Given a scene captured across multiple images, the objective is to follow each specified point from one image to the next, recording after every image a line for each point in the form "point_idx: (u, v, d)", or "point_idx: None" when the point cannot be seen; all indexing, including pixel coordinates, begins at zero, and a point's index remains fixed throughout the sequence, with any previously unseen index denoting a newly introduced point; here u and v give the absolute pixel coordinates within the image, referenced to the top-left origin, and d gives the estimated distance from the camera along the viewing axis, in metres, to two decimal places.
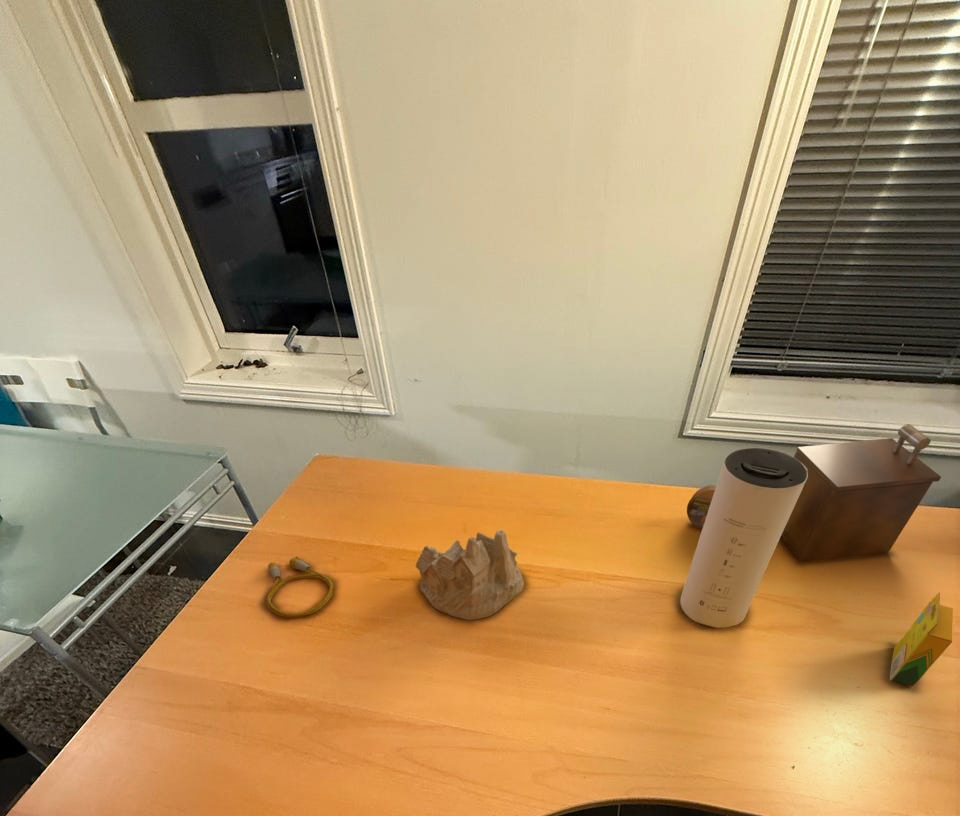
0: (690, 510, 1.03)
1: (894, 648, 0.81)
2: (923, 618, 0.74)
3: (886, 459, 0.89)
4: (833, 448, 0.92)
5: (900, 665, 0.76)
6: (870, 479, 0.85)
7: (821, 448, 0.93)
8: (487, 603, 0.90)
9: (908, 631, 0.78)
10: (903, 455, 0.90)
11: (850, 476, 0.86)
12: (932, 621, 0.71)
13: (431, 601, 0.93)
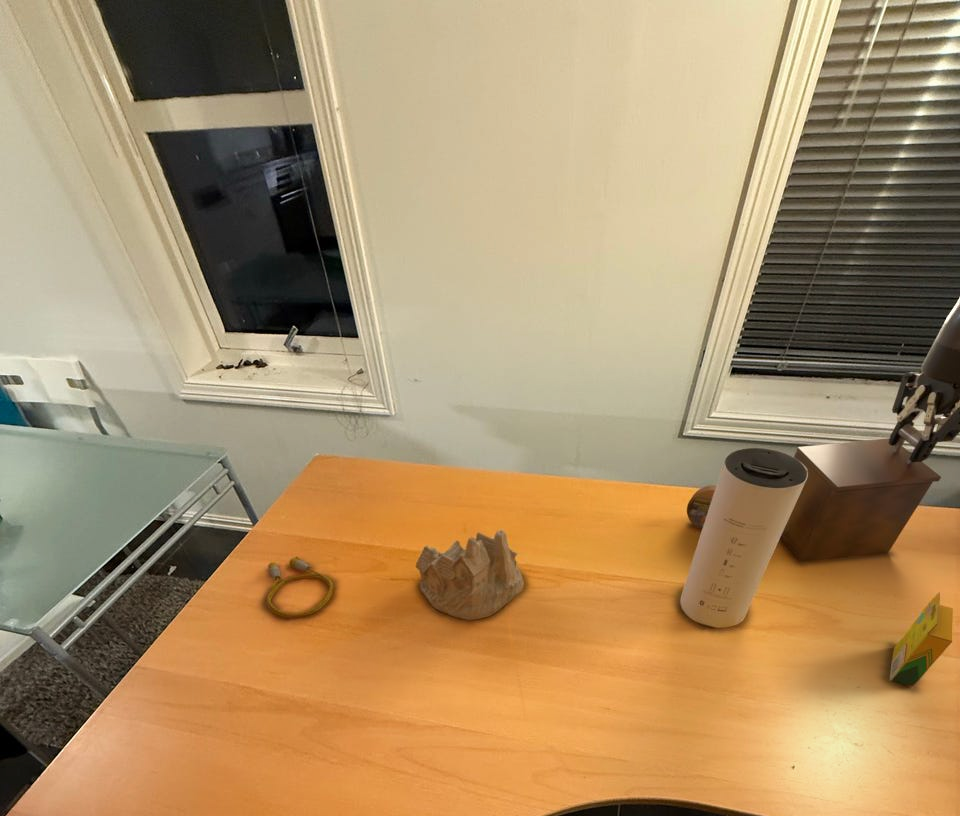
0: (690, 510, 1.03)
1: (894, 648, 0.81)
2: (923, 618, 0.74)
3: (886, 459, 0.89)
4: (833, 448, 0.92)
5: (900, 665, 0.76)
6: (870, 479, 0.85)
7: (821, 448, 0.93)
8: (487, 603, 0.90)
9: (908, 631, 0.78)
10: (903, 455, 0.90)
11: (850, 476, 0.86)
12: (932, 621, 0.71)
13: (431, 601, 0.93)
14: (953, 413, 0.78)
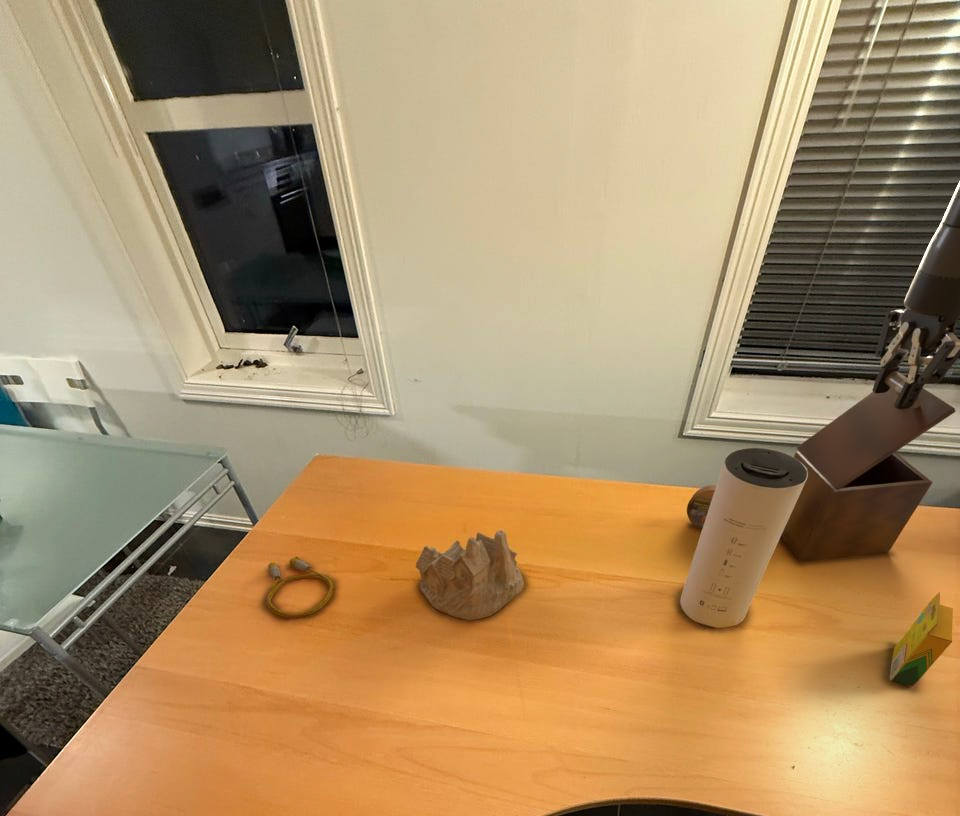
0: (690, 510, 1.03)
1: (894, 648, 0.81)
2: (923, 618, 0.74)
3: (890, 413, 0.83)
4: (832, 429, 0.90)
5: (900, 665, 0.76)
6: (870, 458, 0.82)
7: (819, 435, 0.91)
8: (487, 603, 0.90)
9: (908, 631, 0.78)
10: None
11: (849, 464, 0.85)
12: (932, 621, 0.71)
13: (431, 601, 0.93)
14: (939, 349, 0.71)
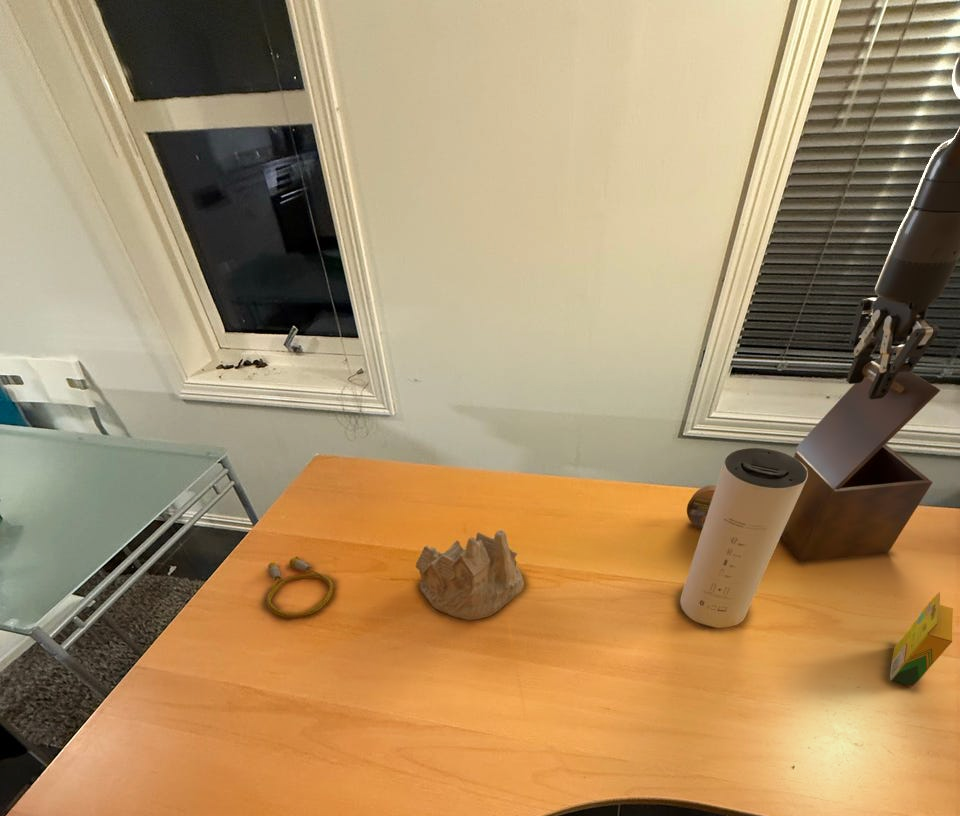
0: (690, 510, 1.03)
1: (894, 648, 0.81)
2: (923, 618, 0.74)
3: (877, 401, 0.82)
4: (826, 424, 0.89)
5: (900, 665, 0.76)
6: (863, 452, 0.82)
7: (815, 432, 0.90)
8: (487, 603, 0.90)
9: (908, 631, 0.78)
10: (895, 378, 0.80)
11: (845, 461, 0.84)
12: (932, 621, 0.71)
13: (431, 601, 0.93)
14: (910, 337, 0.70)
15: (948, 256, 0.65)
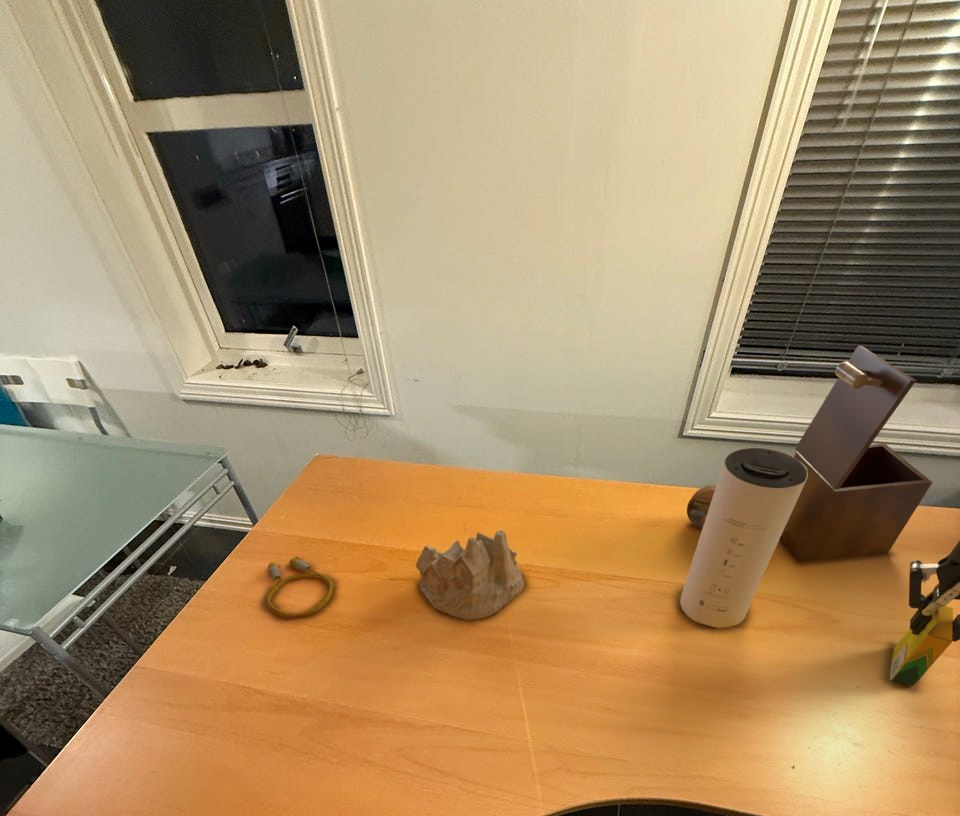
0: (690, 510, 1.03)
1: (894, 648, 0.81)
2: None
3: (860, 396, 0.81)
4: (818, 423, 0.88)
5: (900, 665, 0.76)
6: (854, 450, 0.81)
7: (810, 432, 0.90)
8: (487, 603, 0.90)
9: (908, 631, 0.78)
10: (873, 371, 0.79)
11: (839, 460, 0.84)
12: (932, 621, 0.71)
13: (431, 601, 0.93)
14: None
15: None
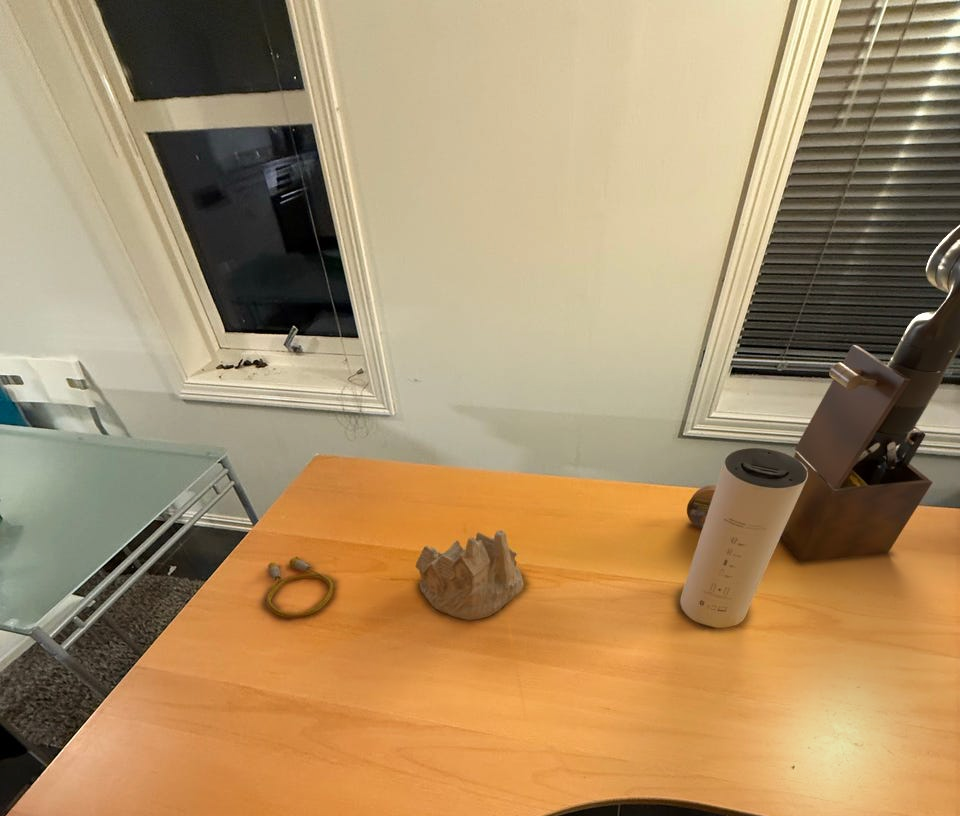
0: (690, 510, 1.03)
1: None
2: None
3: (856, 395, 0.81)
4: (816, 423, 0.88)
5: None
6: (852, 450, 0.81)
7: (808, 432, 0.90)
8: (486, 603, 0.90)
9: None
10: (867, 370, 0.79)
11: (838, 460, 0.84)
12: None
13: (431, 601, 0.93)
14: (915, 441, 0.86)
15: None
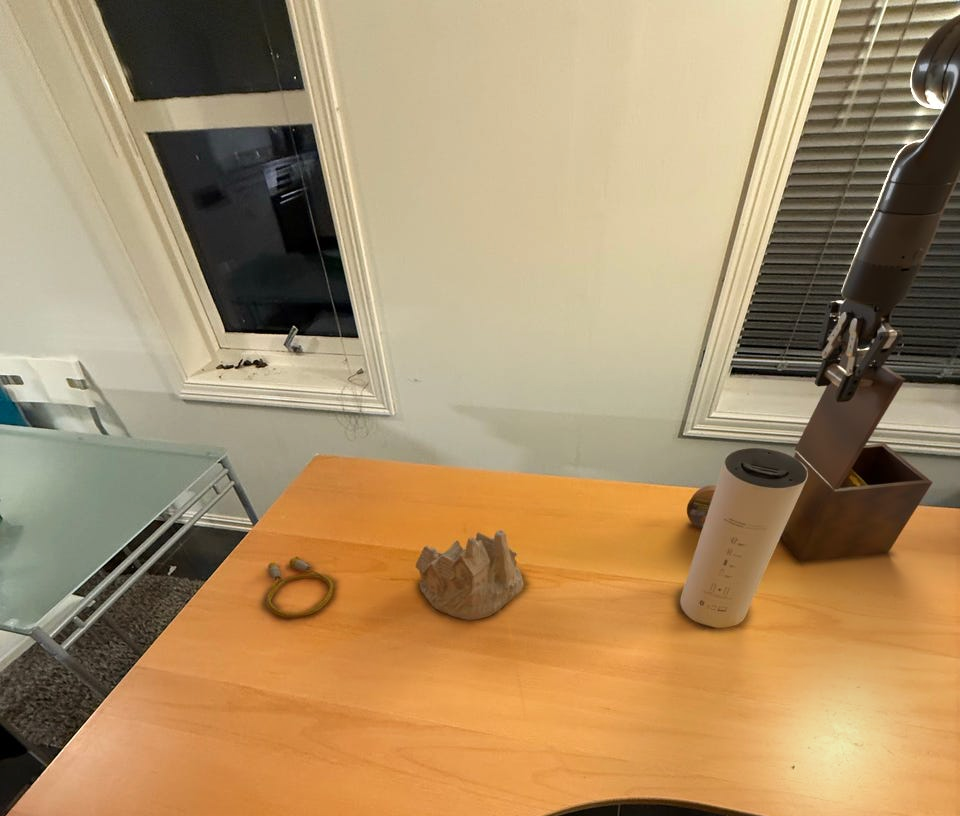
0: (690, 510, 1.03)
1: None
2: None
3: None
4: (815, 423, 0.88)
5: None
6: (851, 451, 0.81)
7: (807, 432, 0.90)
8: (486, 603, 0.90)
9: None
10: None
11: (837, 460, 0.84)
12: None
13: (431, 601, 0.93)
14: None
15: None
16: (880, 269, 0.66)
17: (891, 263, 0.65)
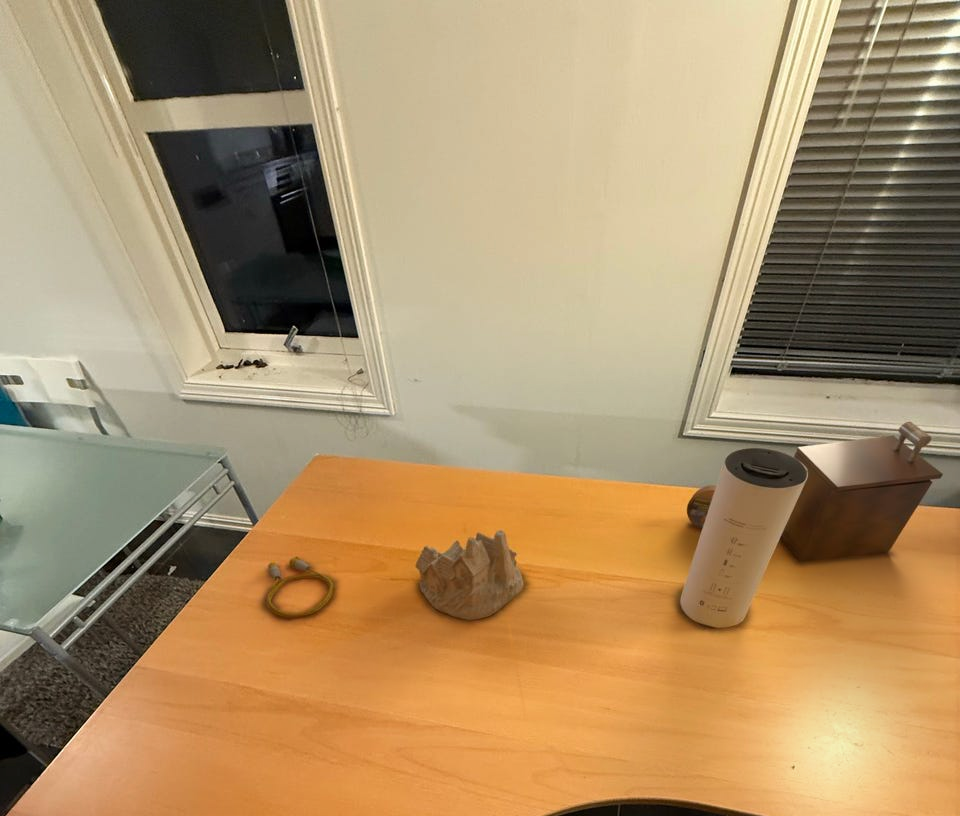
0: (690, 510, 1.03)
1: None
2: None
3: (887, 457, 0.89)
4: (833, 447, 0.92)
5: None
6: (870, 478, 0.85)
7: (821, 447, 0.93)
8: (486, 603, 0.90)
9: None
10: (905, 452, 0.89)
11: (850, 475, 0.86)
12: None
13: (431, 601, 0.93)
14: None
15: None
16: None
17: None
